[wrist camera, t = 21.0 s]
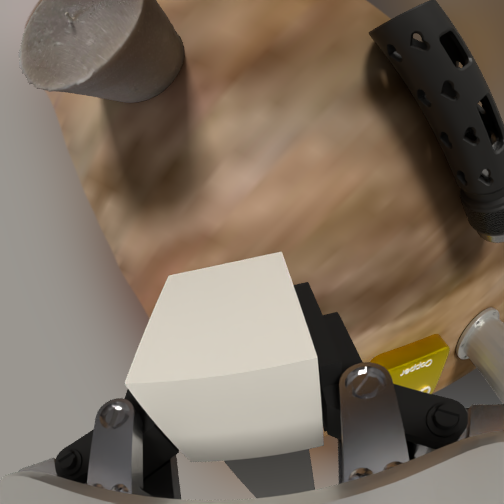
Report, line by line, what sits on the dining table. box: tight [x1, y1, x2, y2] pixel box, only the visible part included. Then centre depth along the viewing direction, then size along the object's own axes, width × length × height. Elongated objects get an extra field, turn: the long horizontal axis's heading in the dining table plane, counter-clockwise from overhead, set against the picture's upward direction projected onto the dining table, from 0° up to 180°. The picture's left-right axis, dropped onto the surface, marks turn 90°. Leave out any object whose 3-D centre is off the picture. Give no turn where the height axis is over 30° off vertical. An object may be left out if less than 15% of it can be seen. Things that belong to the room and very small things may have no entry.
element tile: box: [370, 334, 450, 394], centre depth 41 cm, size 15×15×5 cm
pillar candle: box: [19, 0, 184, 103], centre depth 15 cm, size 10×10×15 cm
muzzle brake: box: [369, 0, 504, 243], centre depth 21 cm, size 10×28×10 cm, turn 41°
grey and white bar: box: [125, 252, 324, 498], centre depth 11 cm, size 4×18×5 cm, turn 12°
